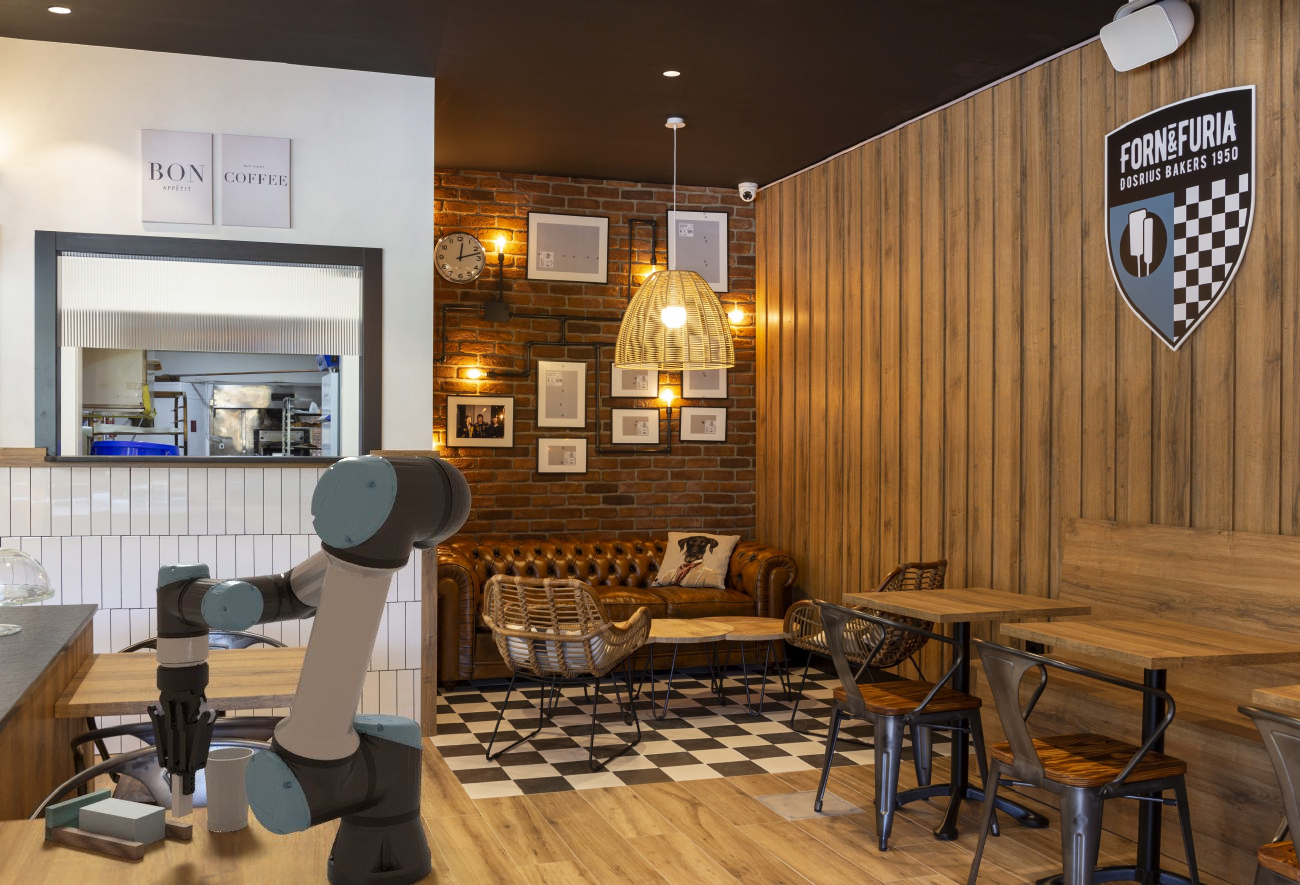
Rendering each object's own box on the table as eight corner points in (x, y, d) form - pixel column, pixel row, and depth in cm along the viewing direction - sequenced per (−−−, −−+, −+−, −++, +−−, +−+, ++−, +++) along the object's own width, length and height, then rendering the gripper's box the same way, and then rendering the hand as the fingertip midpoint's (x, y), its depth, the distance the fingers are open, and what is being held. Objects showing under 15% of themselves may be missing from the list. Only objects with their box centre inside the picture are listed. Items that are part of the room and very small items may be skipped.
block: (164, 839, 176) (165, 808, 176) (134, 851, 170) (135, 819, 170) (109, 828, 180) (110, 797, 181) (78, 839, 175) (79, 808, 175)
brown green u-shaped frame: (192, 837, 176) (193, 806, 176) (135, 859, 166) (136, 827, 166) (104, 818, 184) (104, 788, 184) (44, 839, 174) (45, 807, 174)
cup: (203, 820, 184) (205, 748, 185) (254, 816, 187) (255, 745, 187) (199, 836, 177) (201, 762, 177) (251, 831, 179) (253, 758, 179)
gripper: (232, 661, 171) (232, 813, 170) (171, 656, 176) (170, 803, 176) (195, 669, 164) (194, 827, 164) (132, 663, 169) (131, 816, 169)
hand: (182, 814), depth 170 cm, fingers closed
